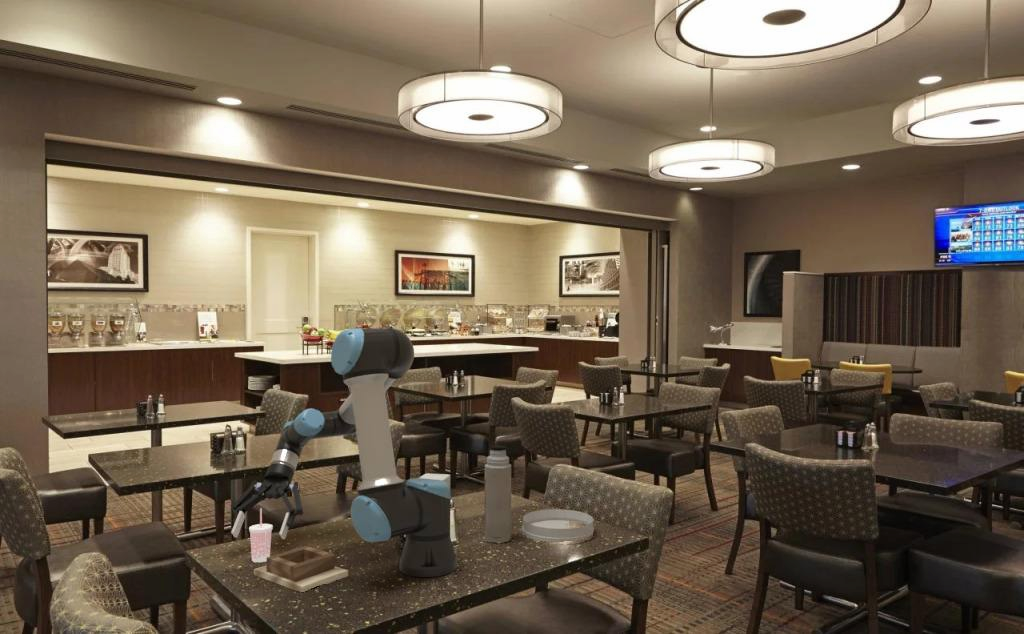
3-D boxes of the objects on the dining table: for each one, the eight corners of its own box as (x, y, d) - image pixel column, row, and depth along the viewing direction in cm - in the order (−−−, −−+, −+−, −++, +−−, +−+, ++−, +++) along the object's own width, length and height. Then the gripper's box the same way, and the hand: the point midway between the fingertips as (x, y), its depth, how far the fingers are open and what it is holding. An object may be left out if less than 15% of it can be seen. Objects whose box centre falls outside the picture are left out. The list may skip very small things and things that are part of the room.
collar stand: (348, 576, 180) (348, 556, 180) (302, 593, 169) (302, 572, 169) (299, 560, 192) (299, 542, 192) (253, 575, 181) (253, 555, 181)
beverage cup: (266, 554, 197) (266, 504, 197) (276, 559, 193) (276, 508, 193) (245, 559, 193) (245, 508, 193) (254, 565, 188) (255, 512, 188)
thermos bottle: (480, 542, 208) (481, 447, 208) (489, 534, 216) (489, 443, 216) (506, 545, 206) (506, 449, 206) (514, 537, 213) (514, 444, 213)
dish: (508, 538, 213) (508, 521, 213) (543, 520, 232) (543, 505, 232) (574, 550, 202) (574, 533, 202) (605, 531, 220) (605, 515, 220)
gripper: (326, 477, 208) (306, 544, 193) (245, 475, 211) (219, 540, 196) (319, 462, 203) (298, 530, 188) (237, 460, 205) (209, 527, 190)
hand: (257, 535), depth 192 cm, fingers open, 13 cm apart
